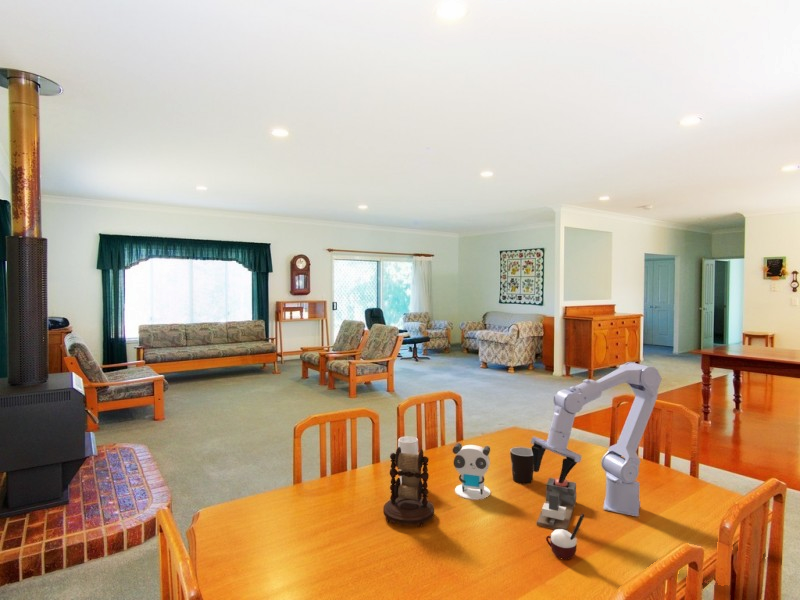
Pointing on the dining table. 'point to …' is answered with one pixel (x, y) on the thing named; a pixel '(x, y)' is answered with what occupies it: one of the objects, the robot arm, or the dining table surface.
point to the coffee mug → (522, 464)
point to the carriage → (554, 507)
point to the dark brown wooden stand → (408, 490)
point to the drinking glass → (408, 446)
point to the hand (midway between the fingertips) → (548, 476)
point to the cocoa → (564, 541)
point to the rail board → (565, 500)
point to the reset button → (561, 483)
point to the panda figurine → (471, 470)
